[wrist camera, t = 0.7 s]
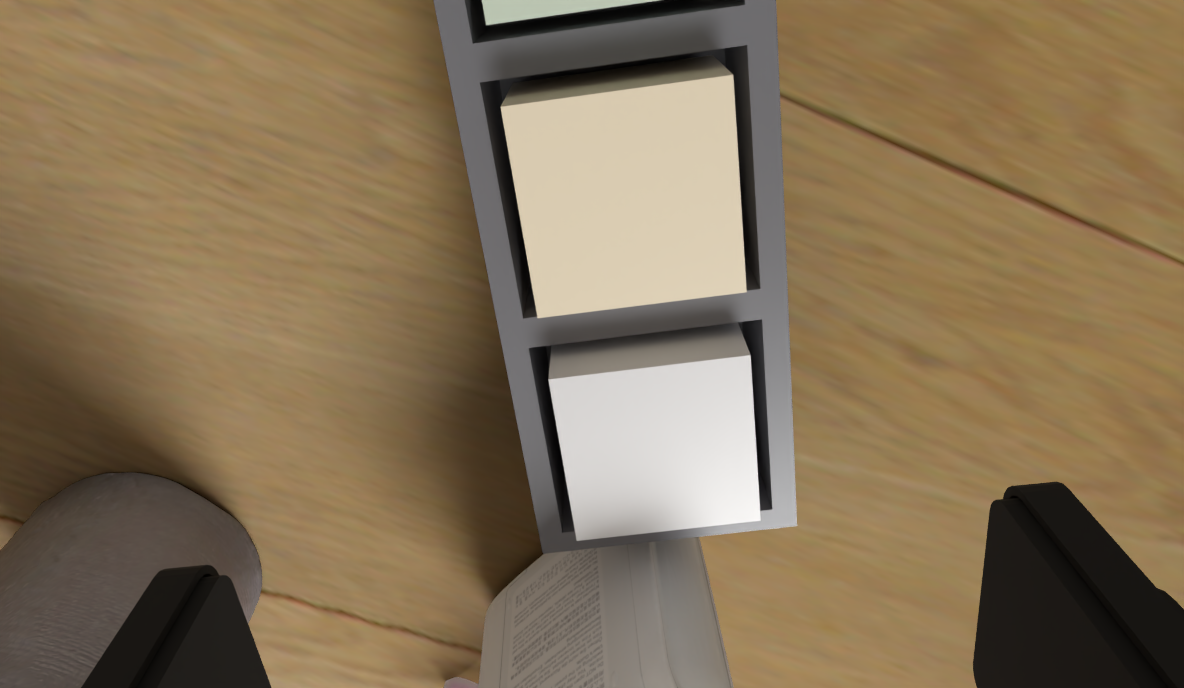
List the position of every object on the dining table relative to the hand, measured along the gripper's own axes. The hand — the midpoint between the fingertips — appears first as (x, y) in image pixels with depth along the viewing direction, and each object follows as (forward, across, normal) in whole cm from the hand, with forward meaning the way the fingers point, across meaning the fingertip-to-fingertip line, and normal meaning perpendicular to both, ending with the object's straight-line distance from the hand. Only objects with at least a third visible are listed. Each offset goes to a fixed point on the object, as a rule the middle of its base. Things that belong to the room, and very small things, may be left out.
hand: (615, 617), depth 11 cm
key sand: (+19, -1, -1) cm, 19 cm away
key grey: (+18, -1, +7) cm, 20 cm away
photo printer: (+21, +2, +17) cm, 27 cm away
